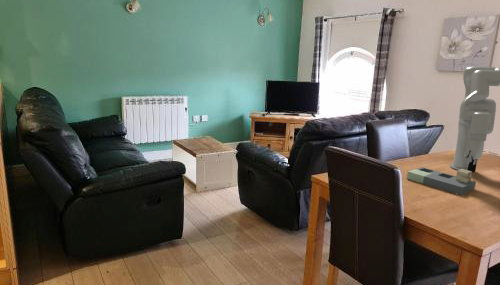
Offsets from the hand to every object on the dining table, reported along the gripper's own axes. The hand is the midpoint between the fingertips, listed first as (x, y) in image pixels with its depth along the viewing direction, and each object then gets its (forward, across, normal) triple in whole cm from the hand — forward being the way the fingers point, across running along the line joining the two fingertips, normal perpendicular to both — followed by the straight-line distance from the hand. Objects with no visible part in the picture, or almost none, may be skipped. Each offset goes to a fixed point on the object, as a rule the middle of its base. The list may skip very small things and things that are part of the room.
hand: (471, 171), depth 186 cm
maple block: (+4, +7, 0) cm, 8 cm away
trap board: (+8, +11, -10) cm, 16 cm away
